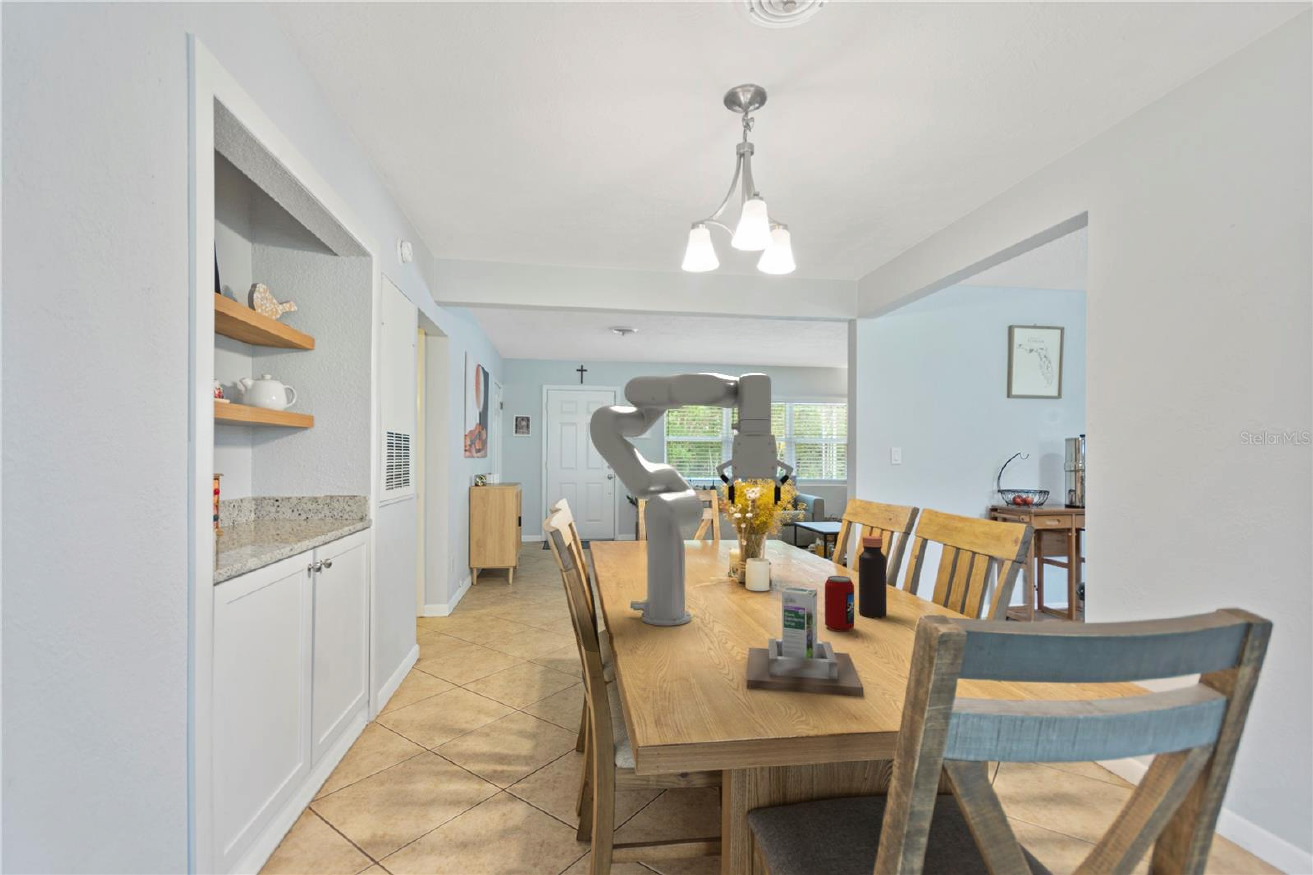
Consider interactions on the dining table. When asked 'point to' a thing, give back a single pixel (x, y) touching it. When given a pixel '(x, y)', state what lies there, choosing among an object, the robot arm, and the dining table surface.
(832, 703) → the dining table surface
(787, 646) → the syrup box
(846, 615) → the beverage can
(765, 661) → the collar board
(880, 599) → the bottle
